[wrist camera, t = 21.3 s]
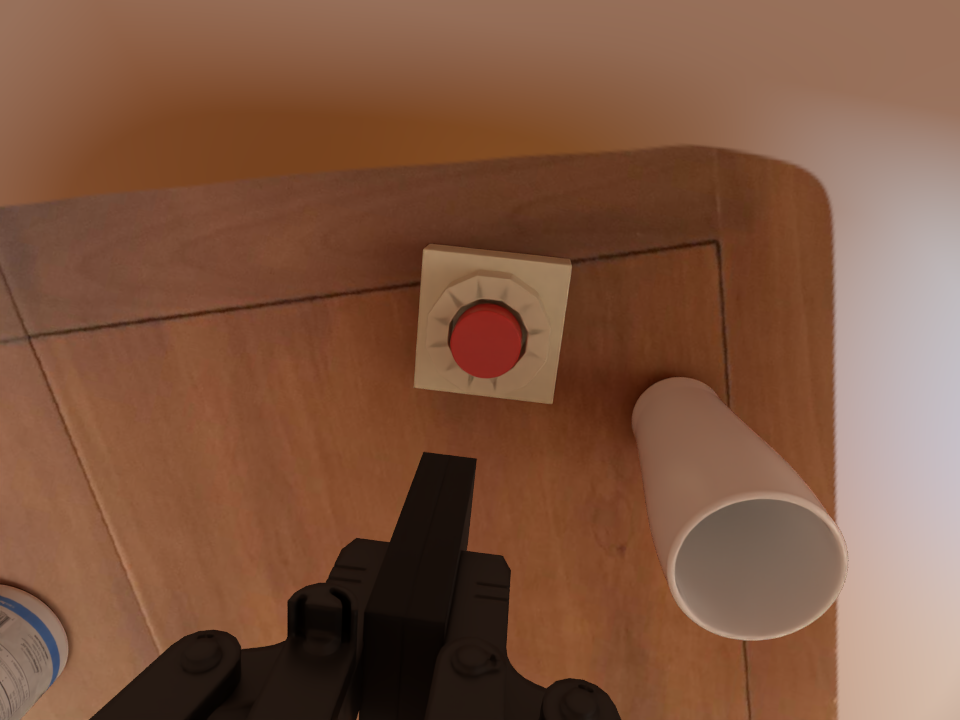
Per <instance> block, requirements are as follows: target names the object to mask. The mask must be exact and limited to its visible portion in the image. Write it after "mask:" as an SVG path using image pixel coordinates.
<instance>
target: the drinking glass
mask: <svg viewBox="0 0 960 720" xmlns="http://www.w3.org/2000/svg"><path fill="white" fill-rule="evenodd" d="M632 430H633V434H634V437H635V440H636V443H637V449H638V455H639V462H640V468H641V475H642V482H643V489H644V497H645V504H646V510H647V516H648V522H649V527H650V531H651V535H652V539H653V543H654V546H655V550H656V553H657V556H658V559H659V562H660V565H661V568H662V570H663V573H664V575H665V578H666V580H667V583H668V585H669V588H670V591H671V594H672V596H673V598H674V600H675V601H676V603H677V605H678V606H679V607H680V609H681V610H682V611H683V612H684V613H685V615H686V616H688V617H689V618H690V619H691V620H692V621H693V622H695V623H696V624H697V625H699V626H700V627H702V628H704V629H706V630H708V631H710V632H712V633H714V634H717V635H720V636H723V637H727V638H731V639H737V640H749V641H756V640H767V639H773V638H778V637H782V636H785V635H788V634H791V633H794V632H796V631H798V630H800V629H802V628H804V627H806V626H808V625H809V624H811V623H812V622H814V621H815V620H817V619H818V618H819V617H820V616H822V615H823V614H824V613H825V612H826V611H827V610H828V609H829V608H830V606H831V605H832V604H833V603H834V601H835V600H836V599H837V597H838V595H839V594H840V592H841V590H842V588H843V585H844V583H845V579H846V576H847V571H848V551H847V546H846V543H845V540H844V537H843V535H842V533H841V531H840V529H839V528H838V526H837V524H836V523H835V522H834V520H833V519H832V518H831V516H830V515H829V513H828V512H827V510H826V509H825V507H824V506H823V504H822V503H821V502H820V500H819V499H818V497H817V496H816V495H815V494H814V492H813V491H812V490H811V488H810V487H809V486H808V485H807V483H806V482H805V481H804V480H803V479H802V477H801V476H800V475H799V474H798V473H797V472H796V471H795V470H794V468H793V467H792V466H791V465H790V464H789V463H788V462H787V461H786V460H785V459H784V458H783V457H782V456H781V455H780V454H779V453H777V452H776V451H775V450H774V449H773V448H772V447H771V446H770V445H769V444H768V443H767V442H766V441H764V440H763V439H762V438H761V437H760V436H759V435H758V434H757V433H756V432H755V431H753V430H752V429H751V428H750V427H749V426H748V425H747V424H746V423H745V422H744V421H743V420H742V419H740V418H739V417H738V416H737V415H736V414H735V413H734V412H733V411H732V410H731V409H730V408H729V407H728V406H727V405H726V404H725V403H724V402H723V401H722V400H721V399H720V397H719V396H718V395H717V394H716V392H715V391H714V390H713V389H712V388H710V387H709V386H708V385H706V384H705V383H703V382H701V381H698V380H696V379H692V378H688V377H672V378H667V379H664V380H661V381H659V382H657V383H655V384H653V385H652V386H650V387H649V388H648V389H646V390H645V391H644V392H643V393H642V395H641V396H640V397H639V399H638V400H637V402H636V404H635V406H634V409H633V413H632Z"/></svg>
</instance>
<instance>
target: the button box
mask: <svg viewBox="0 0 960 720" xmlns="http://www.w3.org/2000/svg"><path fill="white" fill-rule="evenodd" d="M571 271H572V265H571V261H570V259H567V258H558V257H549V256H539V255H530V254H521V253H512V252H503V251H494V250H485V249H475V248H466V247H457V246H448V245H439V244H429V245H428V246H427V247H425V248H424V249H423V257H422V272H421V287H420V301H419V316H418V331H417V345H416V360H415V375H414V388H421V389H429V390H438V391H446V392H454V393H463V394H471V395H479V396H488V397H496V398H504V399H512V400H521V401H529V402H537V403H546V404H552V403H553V397H554V390H555V383H556V376H557V369H558V362H559V355H560V348H561V341H562V334H563V327H564V320H565V313H566V306H567V299H568V292H569V285H570V278H571ZM484 303H491V304H496V305H499V306H502V307H504V308H506V309H507V310H509V311H510V312H511V313H512V314H513V315H514V316H515V318H516V319H517V321H518V323H519V325H520V328H521V332H522V342H521V352H520V355H519V358H518V360H517V362H516V363H515V365H514V366H513V367H512V368H511V369H510V370H509V371H508V372H506V373H505V374H503V375H501V376H498V377H495V378H478V377H475V376H472V375H470V374H468V373H466V372H465V371H464V370H462V369H461V368H460V367H459V366H458V364H457V363H456V362H455V360H454V358H453V356H452V352H451V347H450V340H451V335H452V332H453V330H454V327H455V325H456V323H457V321H458V319H459V318H460V316H461V315H462V314H463V313H464V312H465V311H466V310H468V309H469V308H471V307H473V306H475V305H478V304H484Z"/></svg>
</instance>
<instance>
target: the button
mask: <svg viewBox="0 0 960 720" xmlns="http://www.w3.org/2000/svg"><path fill="white" fill-rule="evenodd" d="M521 342H522V332H521V328H520V325H519V323H518V321H517V319H516V318H515V316H514V315H513V314H512V313H511V312H510V311H509V310H507V309H506V308H504V307H502V306H499V305H496V304H491V303H484V304H478V305H475V306H473V307H471V308H469V309H468V310H466V311H465V312H464V313H463V314H462V315H461V316H460V318H459V319H458V321H457V323H456V325H455V327H454V330H453V332H452V335H451V340H450V347H451V352H452V356H453V358H454V360H455V362H456V363H457V364H458V366H459V367H460V368H461V369H462V370H464V371H465V372H466V373H468V374H470V375H472V376H475V377H478V378H495V377H498V376H501V375H503V374H505V373H506V372H508V371H509V370H510V369H511V368H512V367H513V366H514V365H515V363H516V362H517V360H518V358H519V355H520V352H521Z"/></svg>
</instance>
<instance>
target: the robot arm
mask: <svg viewBox="0 0 960 720" xmlns="http://www.w3.org/2000/svg"><path fill="white" fill-rule="evenodd" d="M476 460H477V459H475V458H467V457H459V456H451V455H443V454H435V453H427V452H423V455H422V457H421V460H420V463H419V465H418V468H417V471H416V474H415V476H414V479H413V482H412V484H411V487H410V490H409V492H408V495H407V498H406V500H405V503H404V506H403V508H402V511H401V514H400V516H399V519H398V522H397V525H396V527H395V530H394V533H393V535H392V538H391V541H390V542H383V541H375V540H368V539H360V538H356V539H354V540H353V541H352V542H351V543H349V544H348V545H347V546H346V547H344V548H343V549H342V550H341V552H340V554H339V556H338V558H337V560H336V562H335V565H334V567H333V568H332V570H331V572H330V575H329V578H328V579H327V581H326V583H317V584H313V585H309V586H306V587H304V588H302V589H300V590H298V591H297V592H295V593H294V594H293V595H292V597H291V598H290V599H289V600H288V637H287V639H286V641H283V642H281V643H278V644H275V645H270V646H265V647H258V648H249V649H241V646H240V644H239V642H238V640H237V639H236V637H234V636H232V635H231V634H229V633H227V632H224V631H218V630H206V631H198V632H196V633H193V634H190V635H187V636H185V637H183V638H181V639H180V640H179V641H177V642H176V643H174V644H173V645H171V646H170V647H169V648H168V649H167V650H166V651H165V652H164V653H162V654H161V655H160V656H159V657H158V658H157V659H156V660H155V661H154V662H152V663H151V664H150V665H149V666H148V667H147V668H146V669H145V670H144V671H143V672H141V673H140V674H139V675H138V676H137V677H136V678H135V679H134V680H133V681H131V682H130V683H129V684H128V685H127V686H126V687H125V688H124V689H123V690H121V691H120V692H119V693H118V694H117V695H116V696H115V697H114V698H113V699H111V700H110V701H109V702H108V703H107V704H106V705H105V706H104V707H103V708H102V709H100V710H99V711H98V712H97V713H96V714H95V715H94V716H93V717H92V718H90V719H89V720H356V719H357V715H358V712H359V720H621V718H620V716H619V713H618V711H617V708H616V706H615V705H614V703H613V702H612V700H611V698H610V697H609V695H608V694H607V693H605V692H604V691H603V690H602V689H600V688H599V687H598V686H597V685H594V684H592V683H590V682H587V681H585V680H581V679H571V678H568V679H563V680H559V681H556V682H555V683H553V684H552V685H551V686H549V687H548V688H547V689H546V688H544V687H542V686H539V685H537V684H535V683H533V682H531V681H529V680H527V679H525V678H524V677H523V676H521V675H520V674H519V673H518V672H517V671H516V670H515V669H514V668H513V666H512V665H511V664H510V661H509V659H508V657H507V650H506V643H507V626H508V609H509V592H510V575H511V570H510V568H509V566H508V564H507V563H506V561H505V559H504V557H503V556H500V555H493V554H485V553H478V552H470V551H466V550H467V545H468V536H469V527H470V517H471V508H472V498H473V489H474V479H475V470H476Z"/></svg>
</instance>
